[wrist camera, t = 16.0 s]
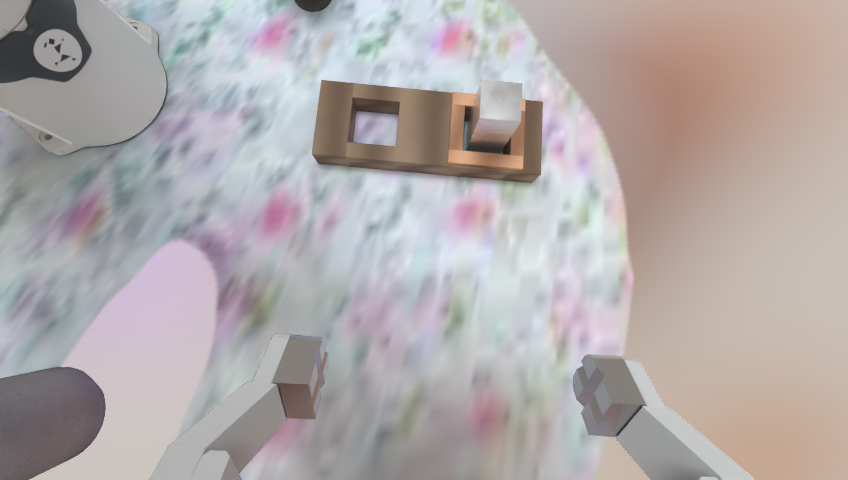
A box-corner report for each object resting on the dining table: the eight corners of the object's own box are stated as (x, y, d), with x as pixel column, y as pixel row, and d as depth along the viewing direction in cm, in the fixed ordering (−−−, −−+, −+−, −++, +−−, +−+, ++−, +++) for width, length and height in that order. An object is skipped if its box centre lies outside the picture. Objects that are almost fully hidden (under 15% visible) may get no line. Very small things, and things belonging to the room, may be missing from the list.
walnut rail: (318, 163, 43) (310, 151, 40) (327, 94, 45) (320, 77, 41) (531, 182, 44) (542, 172, 41) (533, 114, 46) (544, 98, 42)
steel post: (463, 157, 44) (479, 117, 34) (465, 126, 45) (481, 79, 35) (495, 160, 44) (520, 121, 35) (497, 129, 45) (522, 83, 35)
